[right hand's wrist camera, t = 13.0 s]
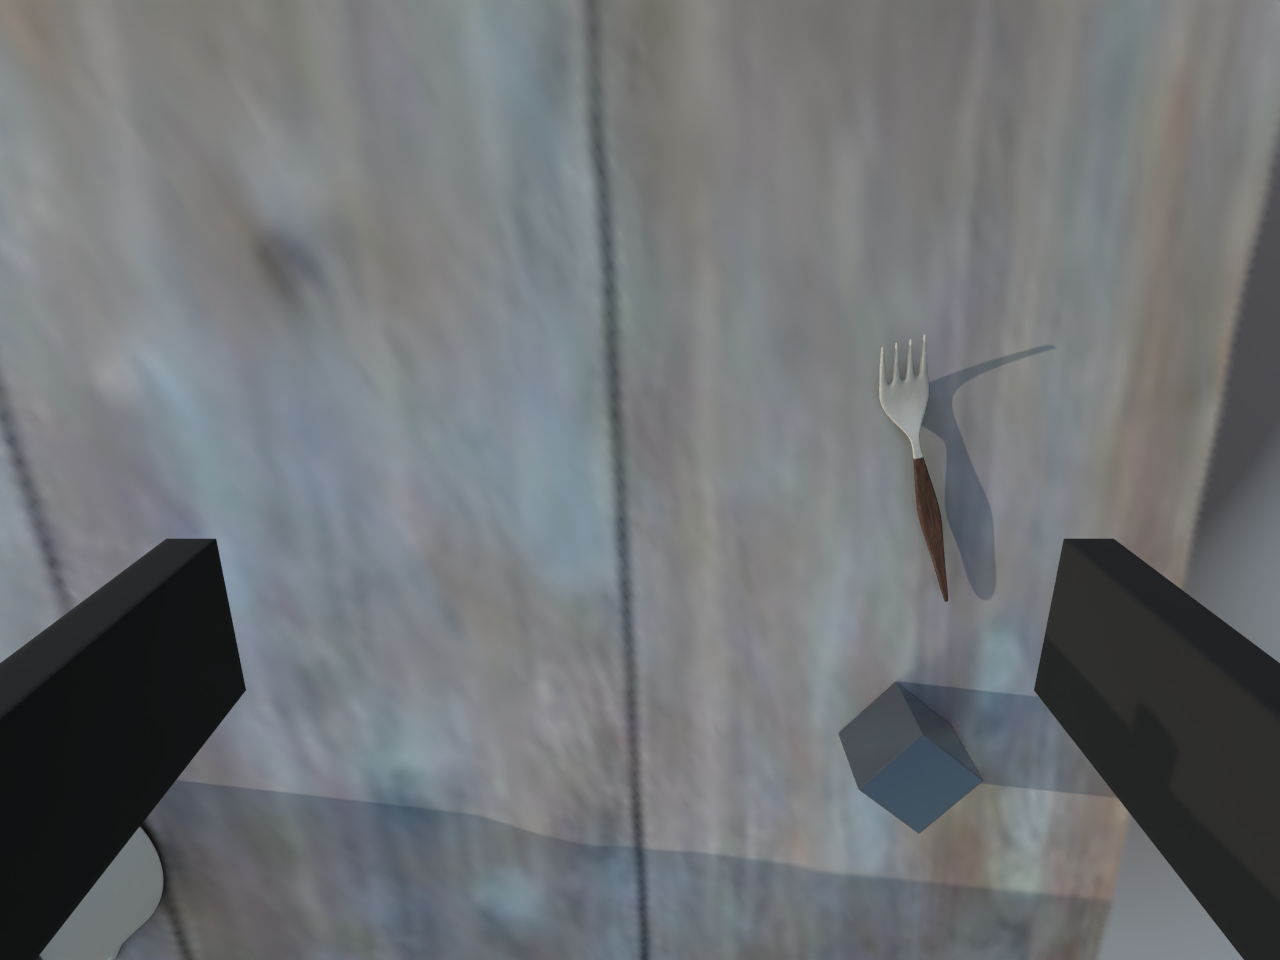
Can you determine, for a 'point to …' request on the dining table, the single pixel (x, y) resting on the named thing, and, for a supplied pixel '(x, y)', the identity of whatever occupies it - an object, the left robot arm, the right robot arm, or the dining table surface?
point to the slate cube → (908, 758)
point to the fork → (916, 446)
